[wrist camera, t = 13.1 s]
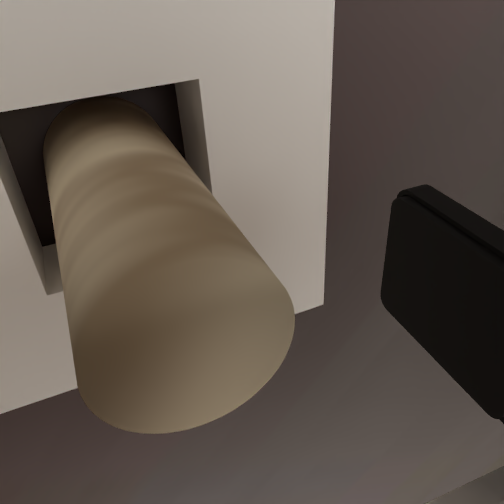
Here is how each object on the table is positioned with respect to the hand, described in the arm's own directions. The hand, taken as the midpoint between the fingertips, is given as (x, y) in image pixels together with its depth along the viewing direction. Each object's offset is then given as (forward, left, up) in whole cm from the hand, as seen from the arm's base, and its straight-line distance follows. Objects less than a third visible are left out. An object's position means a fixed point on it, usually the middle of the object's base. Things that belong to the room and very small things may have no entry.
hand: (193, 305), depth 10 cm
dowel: (0, 0, -9) cm, 9 cm away
